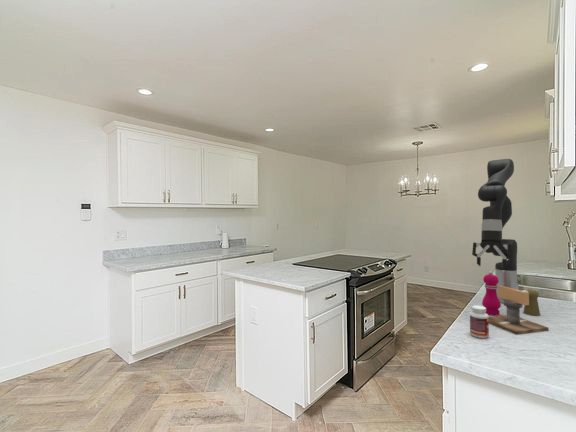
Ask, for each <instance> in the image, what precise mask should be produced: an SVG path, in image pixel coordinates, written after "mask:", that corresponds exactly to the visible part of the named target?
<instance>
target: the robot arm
mask: <svg viewBox="0 0 576 432" xmlns="http://www.w3.org/2000/svg"><path fill="white" fill-rule="evenodd" d="M514 163H515V162H514V161H513V160H512V158H501V159H495V160H493V159H492V160H489V161H488V162H487V165H486V169H487V172H486V173H487V179H488V180H487V182H485V183H483V185H481V186H480V188H479V189H478V192H477V196H478V199H479V200H480V201H482V202H487V203H489V205H488V206H485V207H483V209H482V218H481V219H482V223H481V235H480V236H481V241H480V242H473V243H472V256H473V257H476V264H477V265H478V267H481V265H482V263H481V259H482V258H481V257H482V255H483V254H484V253H486V254H492V255H493V256H495V257H501V258H502V260H501V261H499V262H495V264H494V266H495V271H494V272H495V274H494V275H495V276H497V277H498V280H499V282H498V284H497V289H496V293H497V297H498V286H505V287H509V288H513V289H517V290H520V288H519V287H520V286H519V284H518V267H517V266H518V261H517V259H518V243H517V241H516V240H515V239H511V238H507V239H506V238H503V229H504V227H505V226H506V225H507V223H508V222H509V221H510V219H511V217H512V214H513V206H512V204H513V203H512V200H511V199H510V197H508V189H507V187H506V186H505V185H506V183H507V182H508V180H509V179H510V178H511V177H512V175H513V174H514V171H515V164H514ZM479 246H480V247H481V249H482V250H481V251H480V252H479V253H476V251H477V248H479ZM498 299H499V301H500V304H504V299H502V298H499V297H498Z"/></svg>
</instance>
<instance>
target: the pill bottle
mask: <svg viewBox="0 0 576 432" xmlns="http://www.w3.org/2000/svg"><path fill="white" fill-rule="evenodd" d="M485 312H486V308H485V307H484V306H483V305H472V307H471V311H470V312H469V333H470V335H471V336H472V337H475V338H477V339H478V338H479V339H487V338H489V336H490V327H489V325H490V324H489V317H490V316H489V315H488V314H486V313H485Z"/></svg>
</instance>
